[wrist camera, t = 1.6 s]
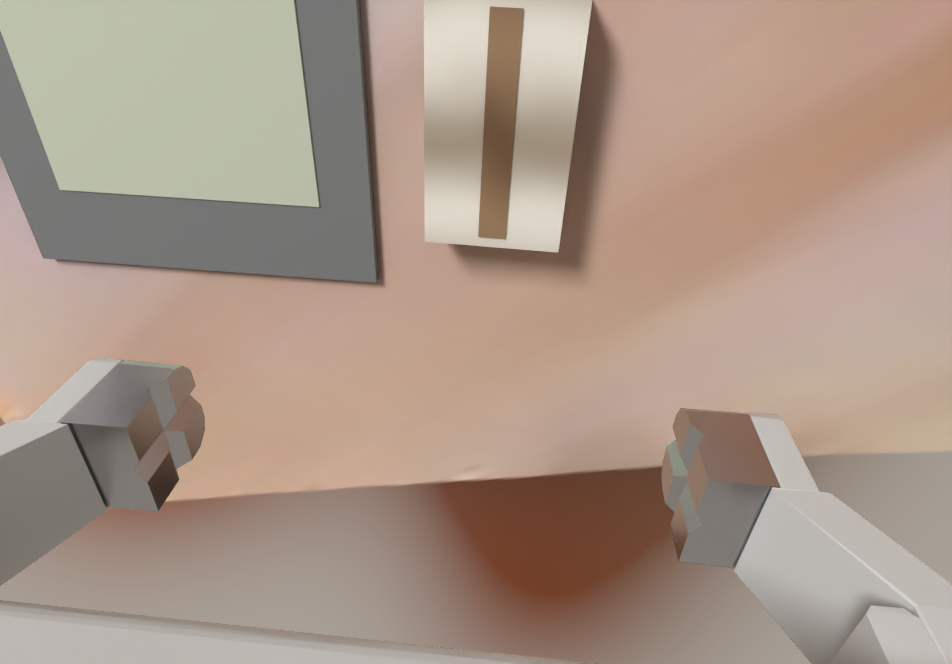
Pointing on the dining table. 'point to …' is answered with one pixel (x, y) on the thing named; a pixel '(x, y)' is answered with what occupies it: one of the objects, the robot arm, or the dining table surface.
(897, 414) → the dining table surface
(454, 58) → the cream block
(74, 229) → the mat
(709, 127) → the dining table surface
